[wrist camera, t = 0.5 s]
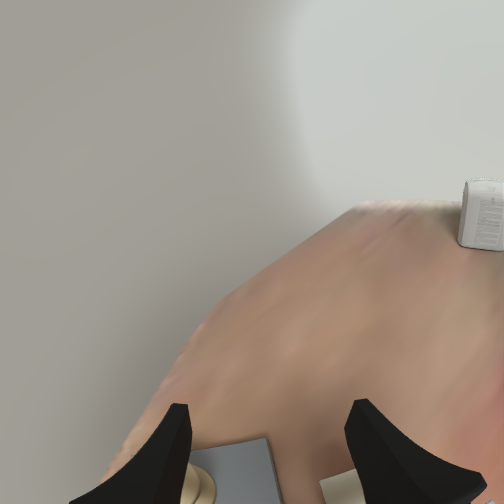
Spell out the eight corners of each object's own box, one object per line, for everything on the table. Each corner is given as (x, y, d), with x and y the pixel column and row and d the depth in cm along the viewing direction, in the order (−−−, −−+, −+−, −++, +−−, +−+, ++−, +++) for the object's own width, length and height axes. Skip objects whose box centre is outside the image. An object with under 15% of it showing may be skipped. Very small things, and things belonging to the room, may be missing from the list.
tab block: (373, 506, 16) (382, 503, 13) (332, 521, 16) (331, 521, 13) (362, 474, 20) (368, 463, 16) (322, 488, 20) (319, 480, 16)
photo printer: (502, 239, 37) (513, 177, 31) (507, 253, 35) (520, 188, 28) (456, 234, 43) (461, 171, 36) (458, 248, 40) (466, 182, 33)
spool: (220, 516, 18) (200, 513, 15) (161, 517, 18) (135, 512, 15) (213, 462, 23) (194, 450, 21) (159, 467, 23) (134, 454, 21)
